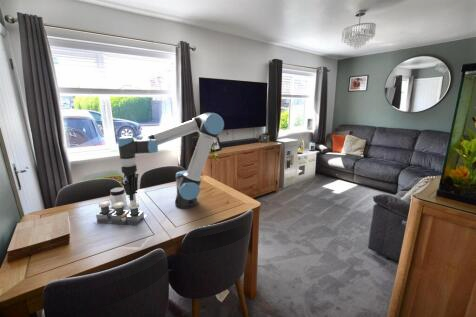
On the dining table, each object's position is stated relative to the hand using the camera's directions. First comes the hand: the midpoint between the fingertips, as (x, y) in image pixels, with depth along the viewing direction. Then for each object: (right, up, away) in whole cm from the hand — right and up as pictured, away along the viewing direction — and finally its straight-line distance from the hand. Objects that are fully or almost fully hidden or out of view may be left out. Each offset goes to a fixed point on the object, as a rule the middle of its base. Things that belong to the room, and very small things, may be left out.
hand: (133, 204), depth 127 cm
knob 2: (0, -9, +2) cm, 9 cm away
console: (-9, -10, +4) cm, 14 cm away
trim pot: (-5, -10, 0) cm, 11 cm away
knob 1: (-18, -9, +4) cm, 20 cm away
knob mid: (-9, -9, +3) cm, 13 cm away
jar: (-19, -6, +21) cm, 29 cm away
